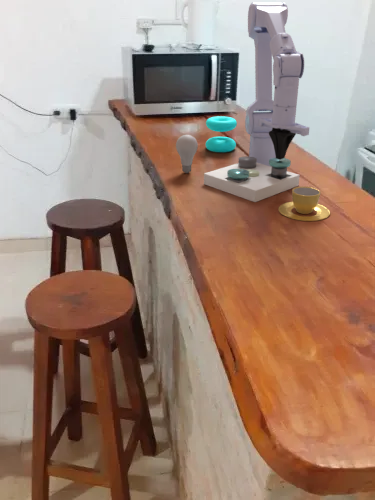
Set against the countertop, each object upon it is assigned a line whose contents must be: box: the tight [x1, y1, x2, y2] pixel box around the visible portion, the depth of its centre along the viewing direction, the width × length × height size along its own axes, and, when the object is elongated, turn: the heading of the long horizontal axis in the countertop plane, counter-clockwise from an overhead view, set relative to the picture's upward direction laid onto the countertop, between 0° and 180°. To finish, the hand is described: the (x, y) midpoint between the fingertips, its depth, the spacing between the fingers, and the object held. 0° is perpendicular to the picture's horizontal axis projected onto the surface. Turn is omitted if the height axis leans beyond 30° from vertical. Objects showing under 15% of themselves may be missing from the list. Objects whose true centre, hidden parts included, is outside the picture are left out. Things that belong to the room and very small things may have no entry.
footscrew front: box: [227, 169, 249, 183], centre depth 133 cm, size 6×6×5 cm
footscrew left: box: [269, 157, 292, 180], centre depth 134 cm, size 6×6×5 cm
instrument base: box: [203, 155, 300, 203], centre depth 136 cm, size 18×18×5 cm
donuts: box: [205, 115, 238, 153], centre depth 166 cm, size 10×10×10 cm
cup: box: [278, 185, 331, 222], centre depth 120 cm, size 12×12×5 cm
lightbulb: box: [175, 134, 199, 174], centre depth 143 cm, size 6×6×11 cm
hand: (280, 158), depth 133 cm, fingers closed
